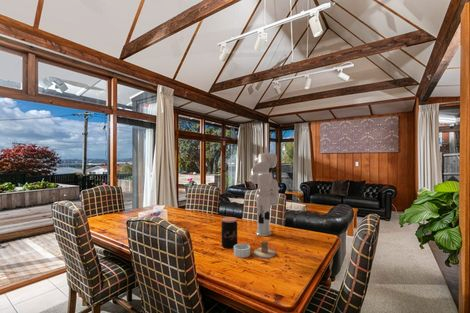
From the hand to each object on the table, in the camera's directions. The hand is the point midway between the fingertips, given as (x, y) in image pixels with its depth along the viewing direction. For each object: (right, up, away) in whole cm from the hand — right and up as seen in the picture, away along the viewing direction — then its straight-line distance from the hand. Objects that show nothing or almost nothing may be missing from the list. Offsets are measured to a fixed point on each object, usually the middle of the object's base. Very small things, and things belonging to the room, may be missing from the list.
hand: (264, 221), depth 139 cm
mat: (0, -20, 0) cm, 20 cm away
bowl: (-14, -20, 0) cm, 24 cm away
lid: (0, -20, 0) cm, 20 cm away
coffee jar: (-22, -21, +14) cm, 33 cm away
